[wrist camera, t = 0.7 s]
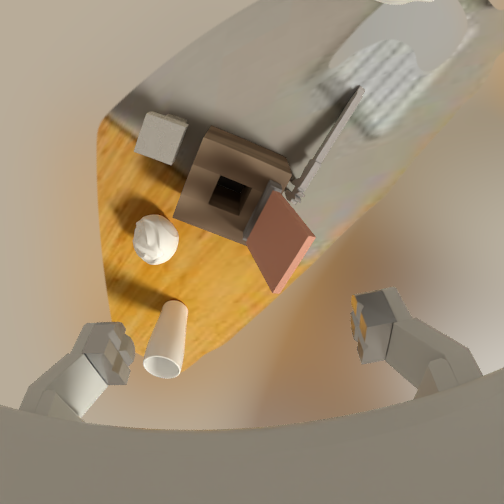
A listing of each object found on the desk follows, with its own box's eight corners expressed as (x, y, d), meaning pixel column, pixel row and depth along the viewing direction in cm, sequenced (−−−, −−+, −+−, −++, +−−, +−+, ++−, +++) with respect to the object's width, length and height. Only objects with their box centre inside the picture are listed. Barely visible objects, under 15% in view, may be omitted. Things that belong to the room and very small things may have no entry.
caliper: (290, 194, 50) (295, 211, 44) (284, 190, 49) (288, 207, 44) (364, 89, 40) (380, 93, 35) (358, 85, 40) (374, 88, 35)
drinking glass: (154, 299, 61) (135, 357, 49) (184, 293, 60) (170, 353, 48) (167, 322, 65) (153, 380, 52) (197, 317, 64) (187, 377, 51)
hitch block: (211, 125, 43) (201, 140, 35) (286, 157, 46) (294, 180, 38) (183, 194, 49) (169, 224, 41) (252, 221, 52) (252, 256, 44)
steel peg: (165, 104, 41) (146, 113, 34) (197, 116, 43) (185, 127, 35) (153, 135, 44) (133, 151, 36) (185, 147, 45) (171, 165, 38)
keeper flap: (272, 190, 37) (279, 192, 38) (245, 242, 41) (252, 243, 42) (308, 235, 31) (315, 237, 32) (272, 293, 35) (279, 293, 36)
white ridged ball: (144, 200, 50) (129, 223, 43) (187, 214, 51) (178, 238, 45) (136, 240, 54) (122, 265, 47) (176, 253, 55) (167, 280, 49)
